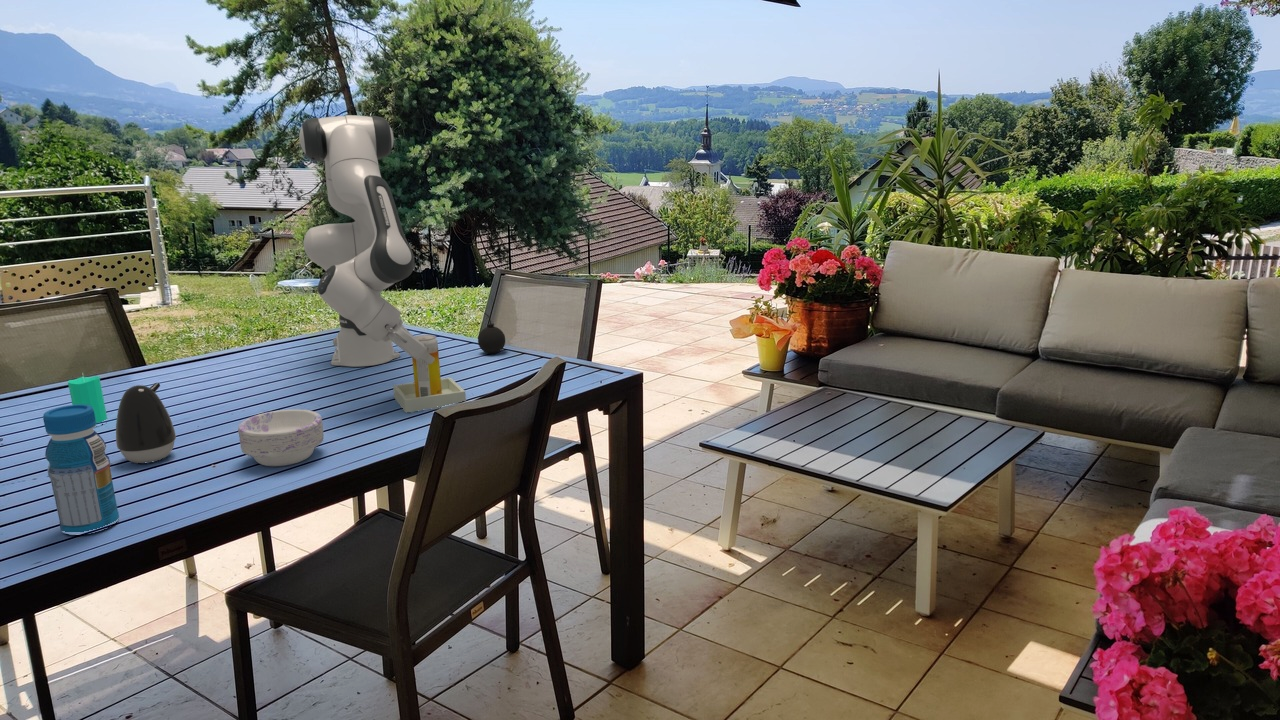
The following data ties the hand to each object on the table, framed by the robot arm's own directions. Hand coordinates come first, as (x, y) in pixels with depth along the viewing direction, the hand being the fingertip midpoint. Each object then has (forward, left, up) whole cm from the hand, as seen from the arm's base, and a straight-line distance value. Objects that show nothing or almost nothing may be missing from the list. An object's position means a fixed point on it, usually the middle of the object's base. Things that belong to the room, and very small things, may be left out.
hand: (428, 358), depth 201 cm
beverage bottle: (+42, -66, -11) cm, 79 cm away
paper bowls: (+24, -35, -11) cm, 43 cm away
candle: (-21, -72, -11) cm, 75 cm away
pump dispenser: (+11, -59, -11) cm, 61 cm away
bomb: (-38, +26, -11) cm, 48 cm away
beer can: (0, -1, -10) cm, 10 cm away
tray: (0, -1, -10) cm, 11 cm away
